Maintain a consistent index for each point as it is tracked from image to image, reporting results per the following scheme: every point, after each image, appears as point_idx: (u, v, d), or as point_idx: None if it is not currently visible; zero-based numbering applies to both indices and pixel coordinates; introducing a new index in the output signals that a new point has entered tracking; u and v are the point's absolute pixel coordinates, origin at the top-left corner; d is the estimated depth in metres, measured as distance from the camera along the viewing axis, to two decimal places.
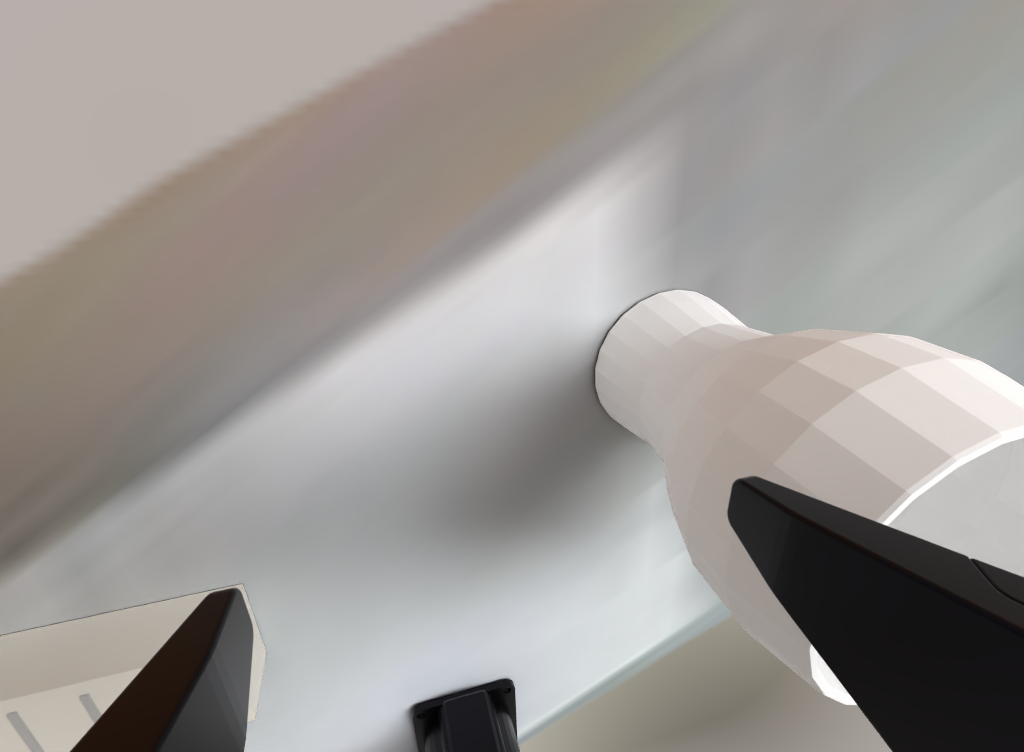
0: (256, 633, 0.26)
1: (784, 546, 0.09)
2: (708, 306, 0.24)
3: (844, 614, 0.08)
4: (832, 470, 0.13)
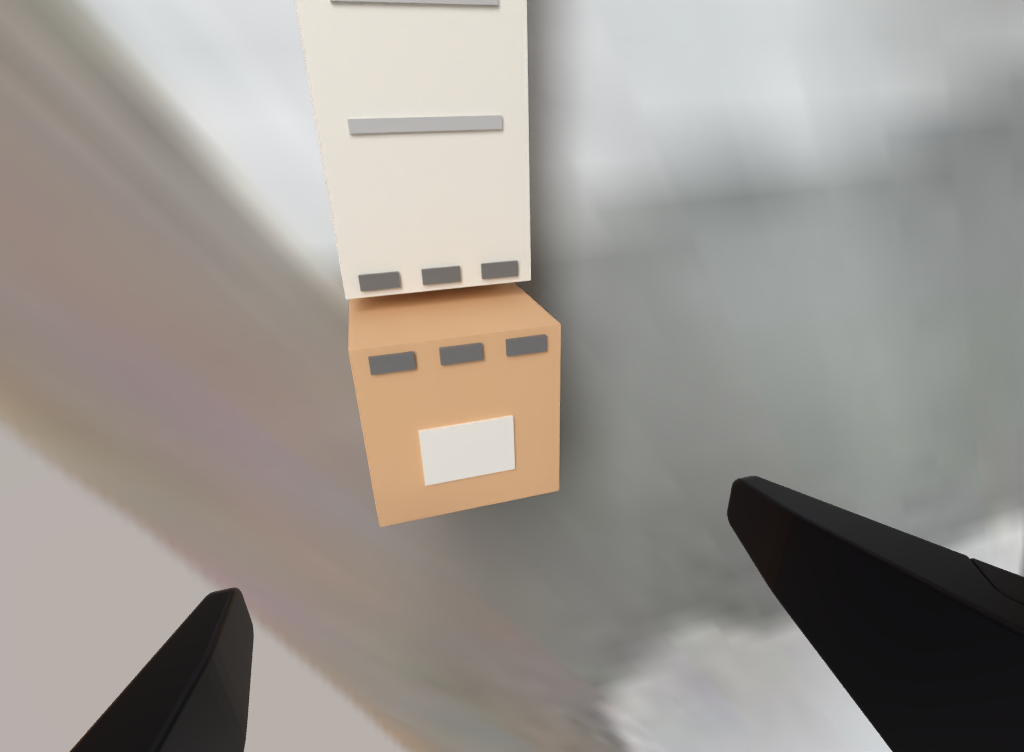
0: None
1: (784, 546, 0.09)
2: None
3: (844, 613, 0.08)
4: None
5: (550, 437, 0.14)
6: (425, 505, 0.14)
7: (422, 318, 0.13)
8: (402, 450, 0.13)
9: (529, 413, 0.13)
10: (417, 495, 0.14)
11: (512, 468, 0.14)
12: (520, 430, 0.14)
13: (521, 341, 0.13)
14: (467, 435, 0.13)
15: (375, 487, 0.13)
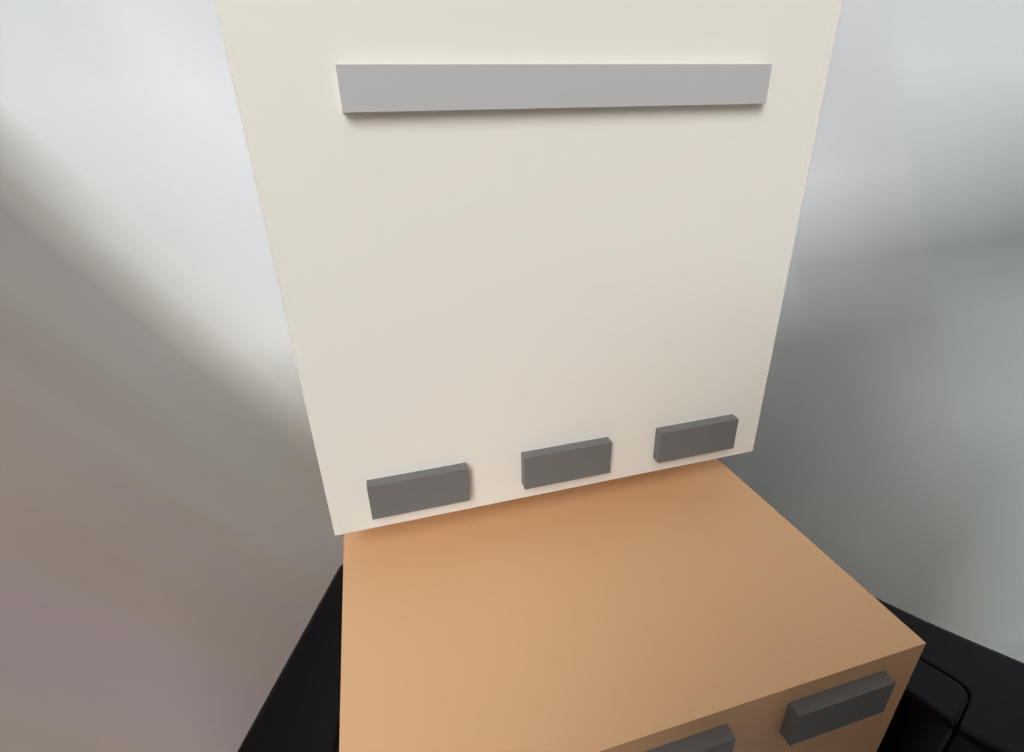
0: None
1: None
2: None
3: None
4: None
5: None
6: None
7: (529, 586, 0.05)
8: None
9: None
10: None
11: None
12: None
13: (823, 697, 0.04)
14: None
15: None
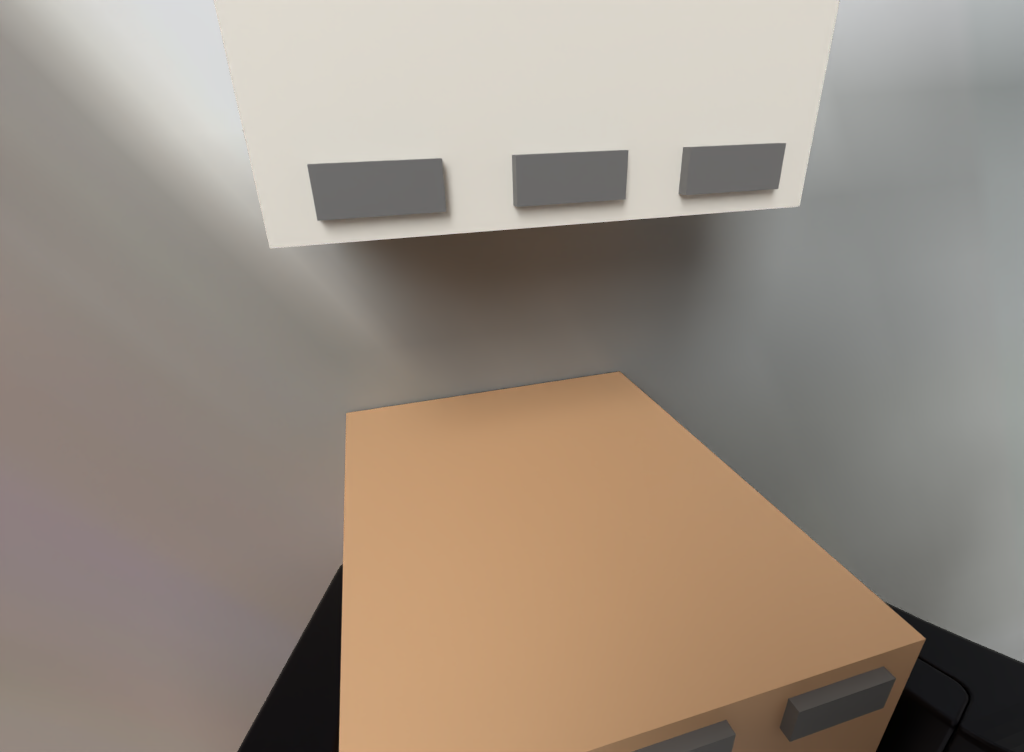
0: None
1: None
2: None
3: None
4: None
5: None
6: None
7: (529, 583, 0.05)
8: None
9: None
10: None
11: None
12: None
13: (823, 693, 0.04)
14: None
15: None
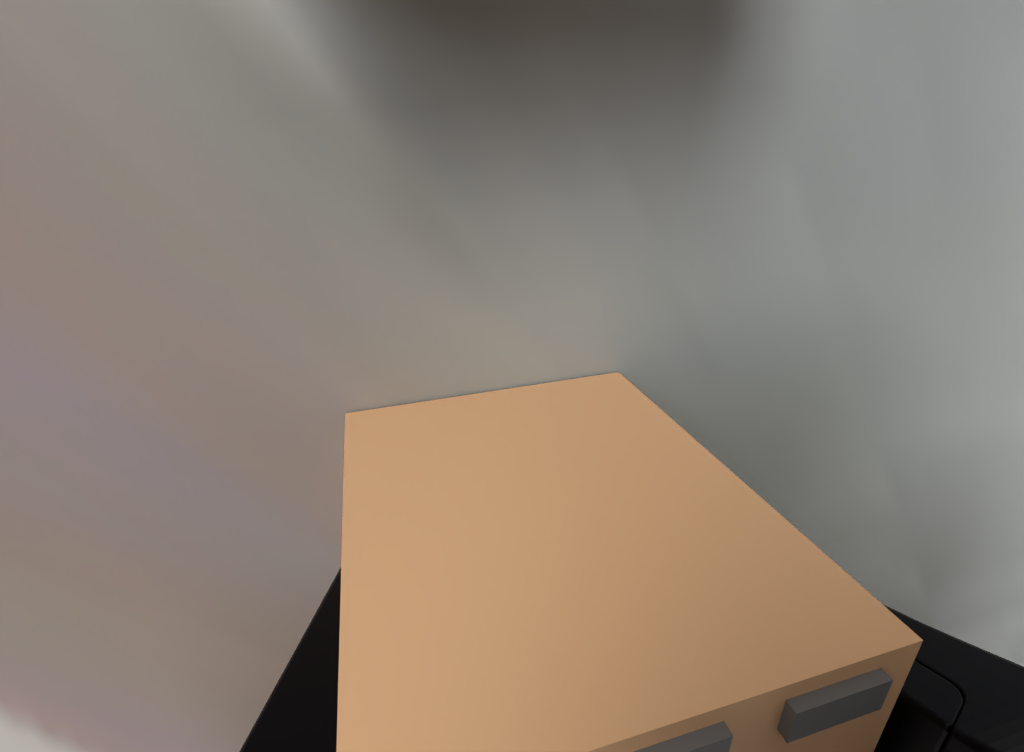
0: None
1: None
2: None
3: None
4: None
5: None
6: None
7: (527, 584, 0.05)
8: None
9: None
10: None
11: None
12: None
13: (821, 694, 0.04)
14: None
15: None
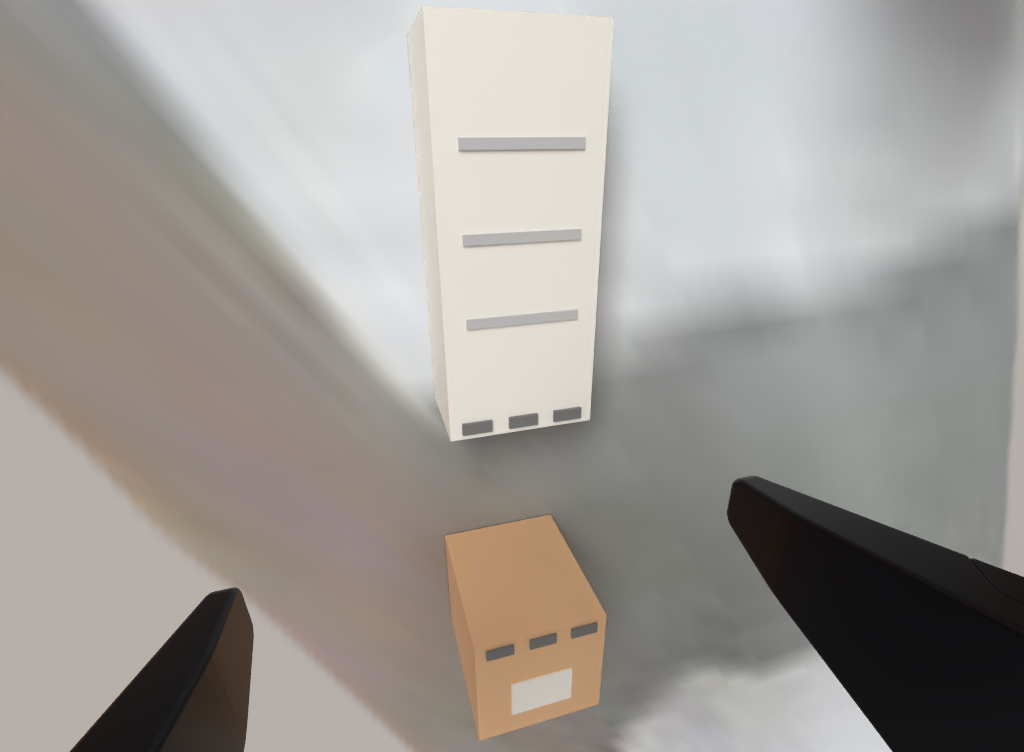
0: None
1: (784, 546, 0.09)
2: None
3: (844, 614, 0.08)
4: None
5: (595, 675, 0.20)
6: (510, 724, 0.20)
7: (512, 601, 0.20)
8: (500, 696, 0.19)
9: (582, 664, 0.20)
10: (505, 719, 0.20)
11: (569, 696, 0.20)
12: (576, 674, 0.20)
13: (580, 628, 0.19)
14: (542, 684, 0.20)
15: (479, 719, 0.19)
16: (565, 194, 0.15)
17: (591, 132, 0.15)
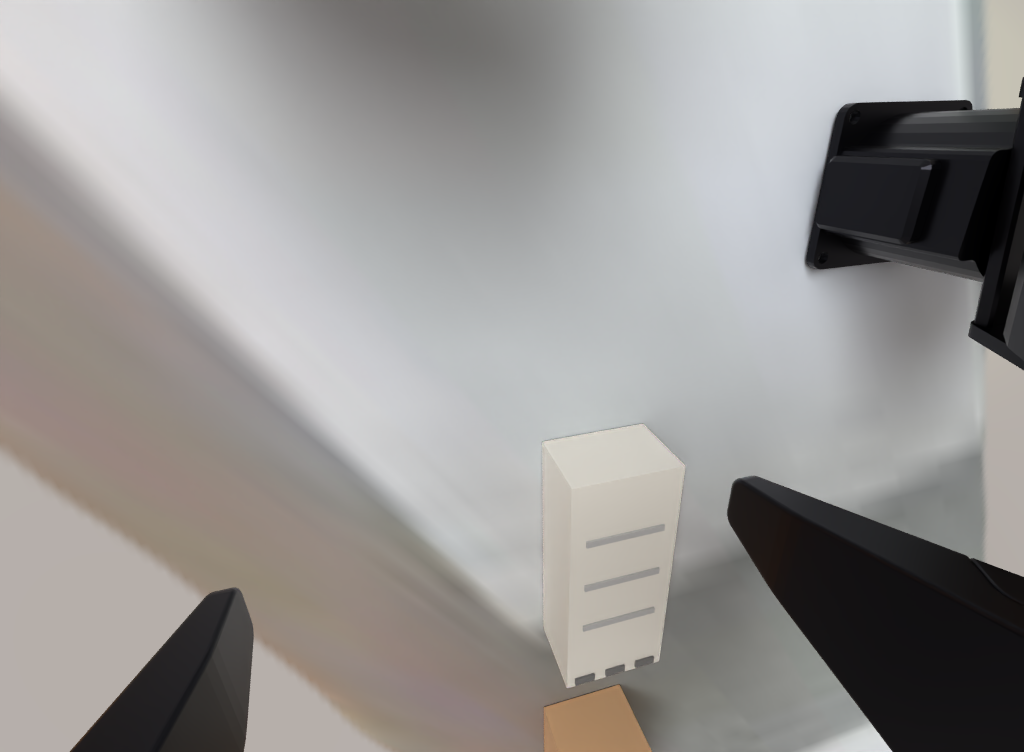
0: (608, 434, 0.24)
1: (784, 546, 0.09)
2: None
3: (844, 614, 0.08)
4: None
5: None
6: None
7: None
8: None
9: None
10: None
11: None
12: None
13: None
14: None
15: None
16: (650, 552, 0.23)
17: (668, 520, 0.22)
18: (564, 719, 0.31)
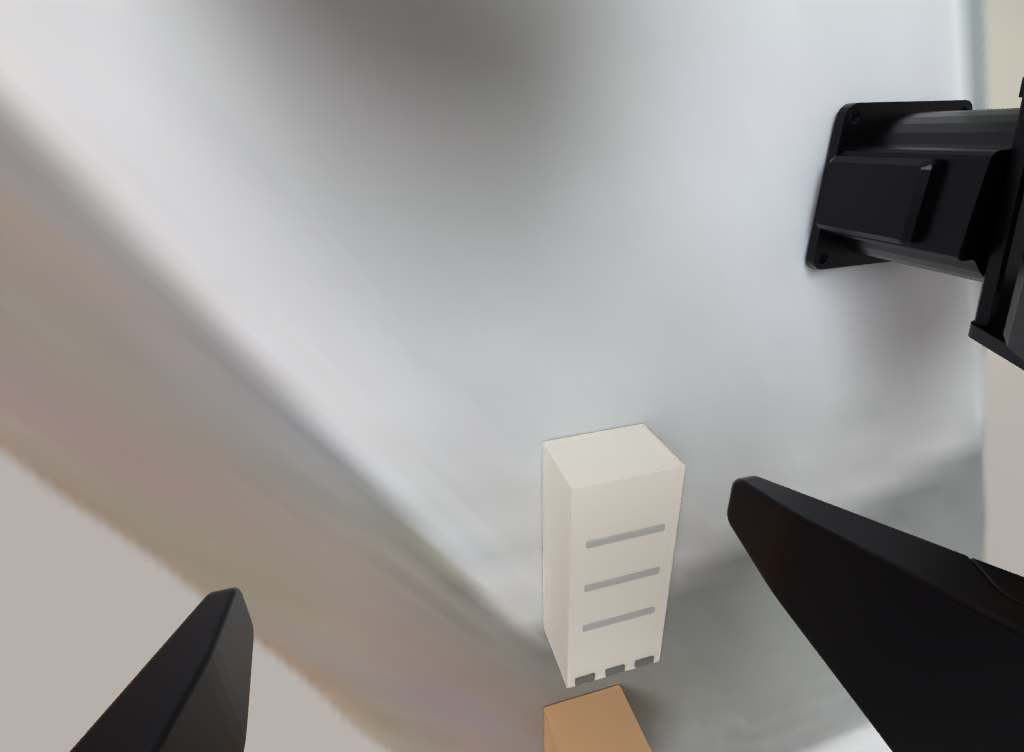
0: (608, 434, 0.24)
1: (784, 546, 0.09)
2: None
3: (844, 614, 0.08)
4: None
5: None
6: None
7: None
8: None
9: None
10: None
11: None
12: None
13: None
14: None
15: None
16: (650, 552, 0.23)
17: (668, 520, 0.22)
18: (564, 719, 0.31)
